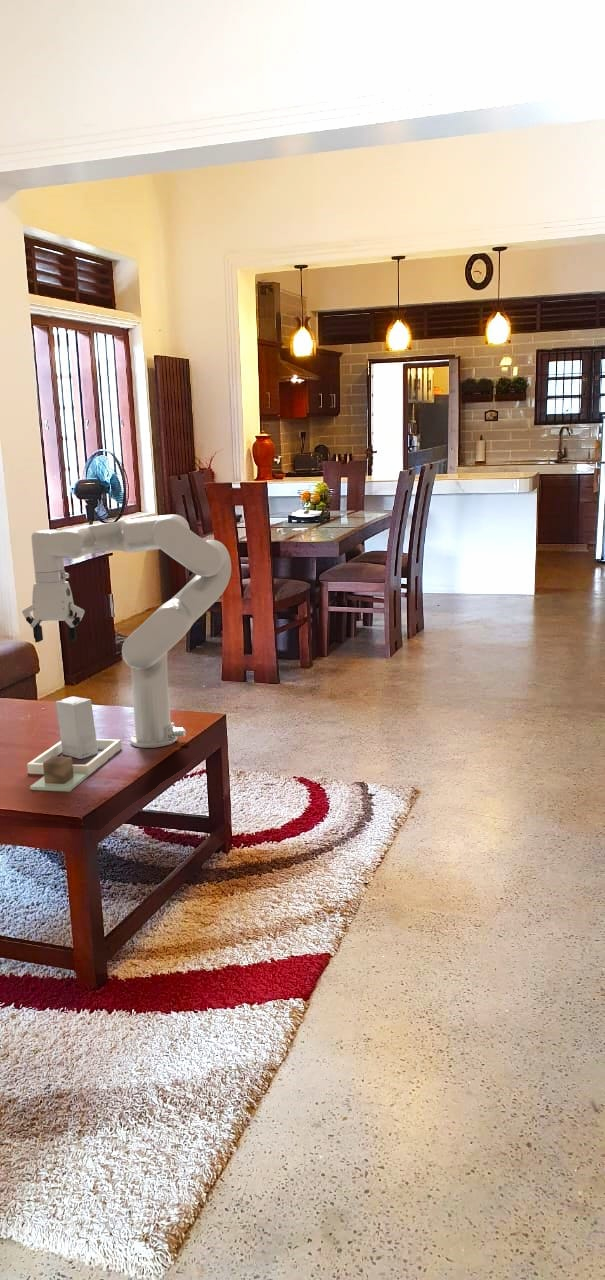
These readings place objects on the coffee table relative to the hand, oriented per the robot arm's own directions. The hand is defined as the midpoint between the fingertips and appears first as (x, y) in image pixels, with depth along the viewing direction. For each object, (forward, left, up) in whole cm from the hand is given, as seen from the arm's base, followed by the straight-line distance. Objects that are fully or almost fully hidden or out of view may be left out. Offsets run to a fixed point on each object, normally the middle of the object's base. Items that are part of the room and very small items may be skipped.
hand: (55, 641), depth 254 cm
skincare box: (-8, +9, -28) cm, 31 cm away
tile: (-13, +30, -28) cm, 43 cm away
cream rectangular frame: (-10, +14, -28) cm, 33 cm away
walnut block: (-13, +30, -28) cm, 42 cm away
